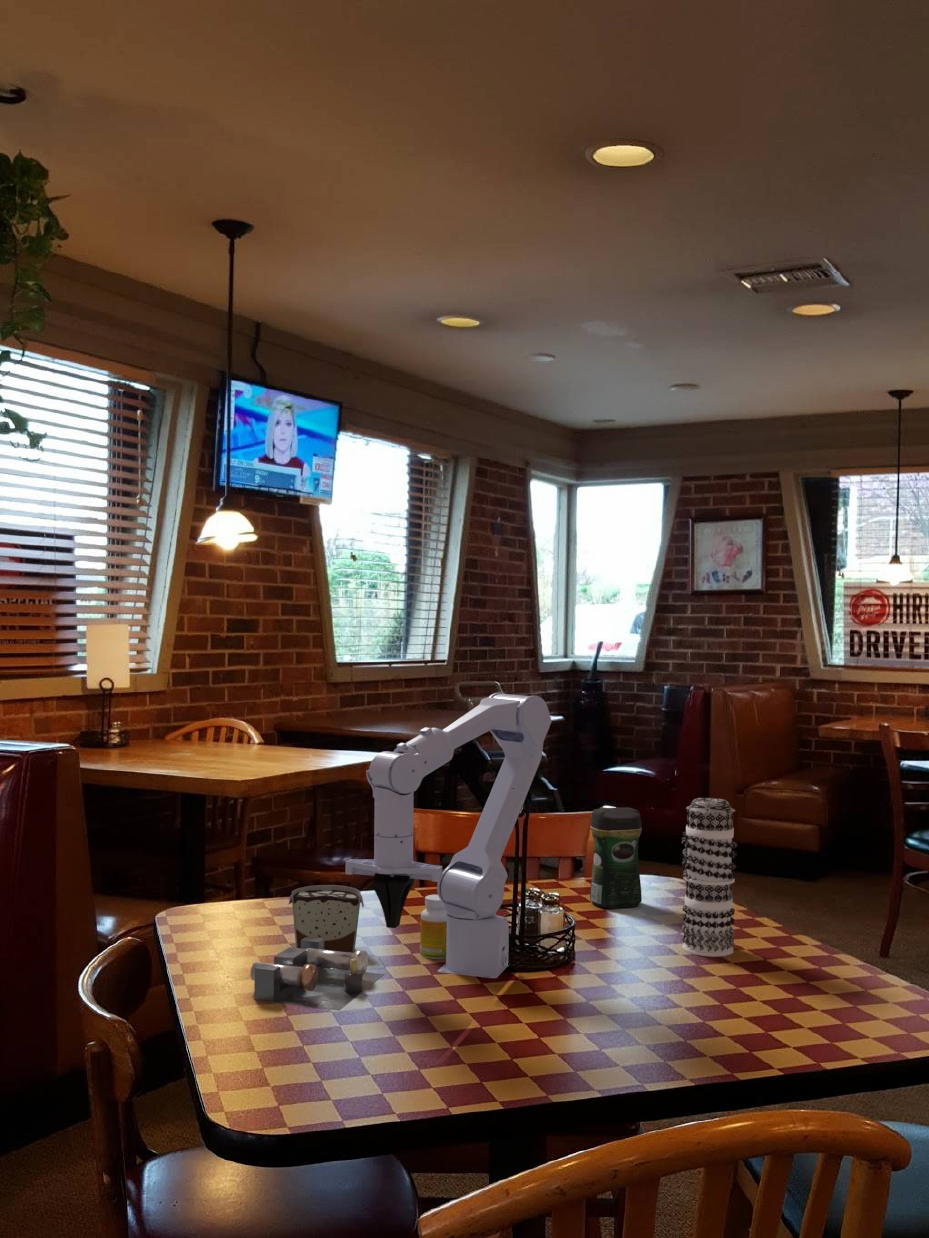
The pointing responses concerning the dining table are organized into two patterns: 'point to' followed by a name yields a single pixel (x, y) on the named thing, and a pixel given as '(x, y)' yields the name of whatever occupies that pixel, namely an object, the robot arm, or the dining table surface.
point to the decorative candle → (708, 878)
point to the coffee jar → (615, 858)
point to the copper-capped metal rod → (294, 975)
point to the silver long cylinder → (337, 959)
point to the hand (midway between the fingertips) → (393, 926)
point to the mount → (323, 996)
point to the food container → (327, 915)
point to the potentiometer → (353, 978)
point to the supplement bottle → (433, 929)
